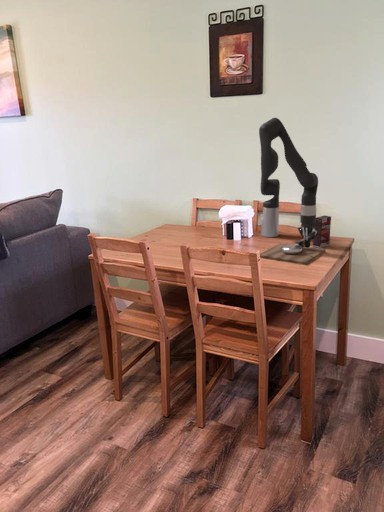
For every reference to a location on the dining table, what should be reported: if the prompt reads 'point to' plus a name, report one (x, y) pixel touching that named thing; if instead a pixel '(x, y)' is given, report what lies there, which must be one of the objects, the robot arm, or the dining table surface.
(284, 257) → the board
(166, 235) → the dining table surface
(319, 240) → the supplement box
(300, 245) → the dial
